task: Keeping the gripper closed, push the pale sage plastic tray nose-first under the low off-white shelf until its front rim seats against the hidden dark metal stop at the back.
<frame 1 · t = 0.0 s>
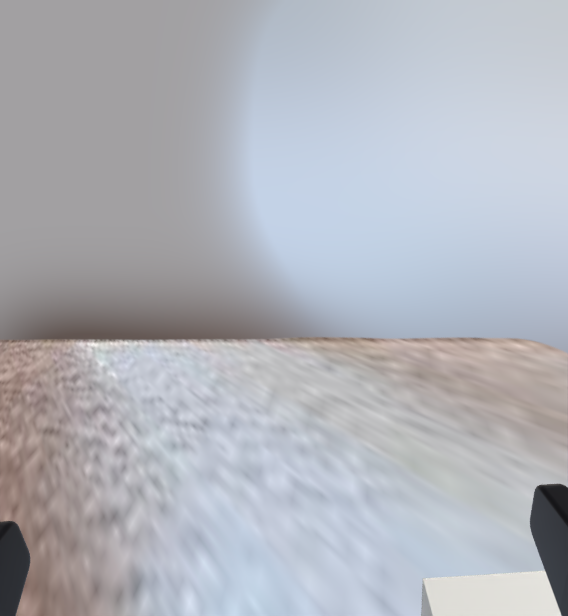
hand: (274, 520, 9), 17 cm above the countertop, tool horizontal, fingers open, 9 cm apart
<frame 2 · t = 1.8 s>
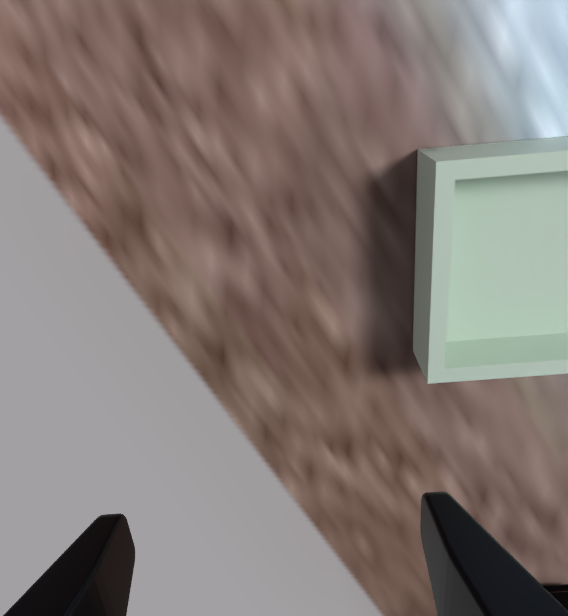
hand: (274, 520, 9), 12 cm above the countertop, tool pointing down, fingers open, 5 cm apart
tray: (563, 246, 20), on the countertop
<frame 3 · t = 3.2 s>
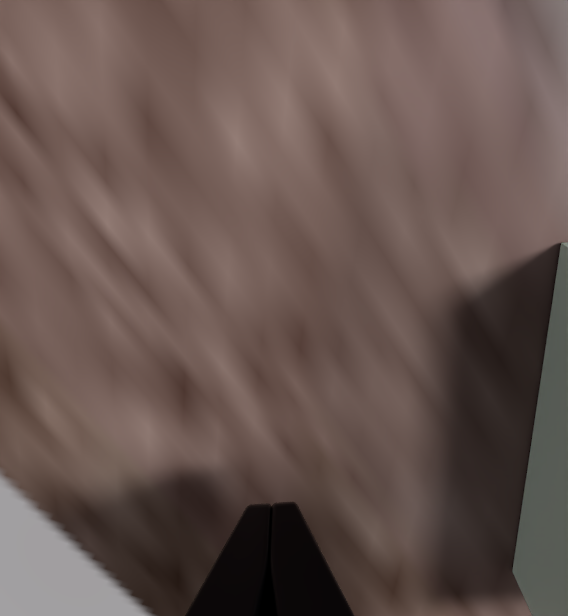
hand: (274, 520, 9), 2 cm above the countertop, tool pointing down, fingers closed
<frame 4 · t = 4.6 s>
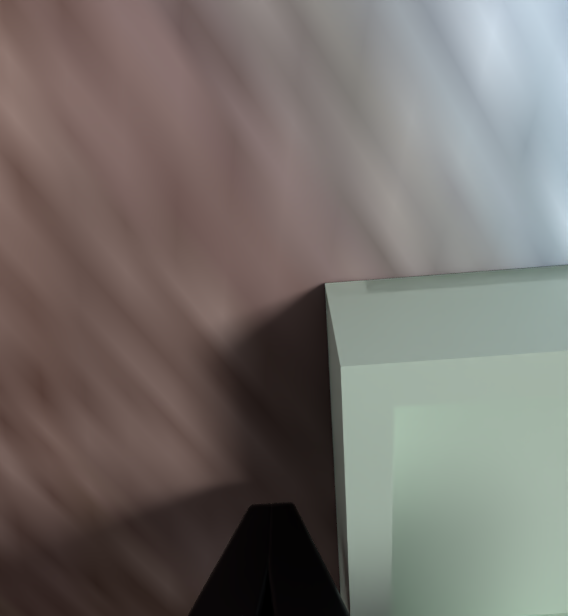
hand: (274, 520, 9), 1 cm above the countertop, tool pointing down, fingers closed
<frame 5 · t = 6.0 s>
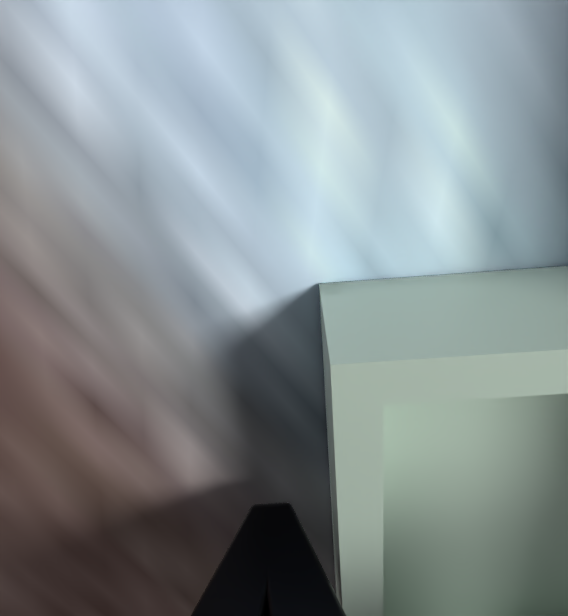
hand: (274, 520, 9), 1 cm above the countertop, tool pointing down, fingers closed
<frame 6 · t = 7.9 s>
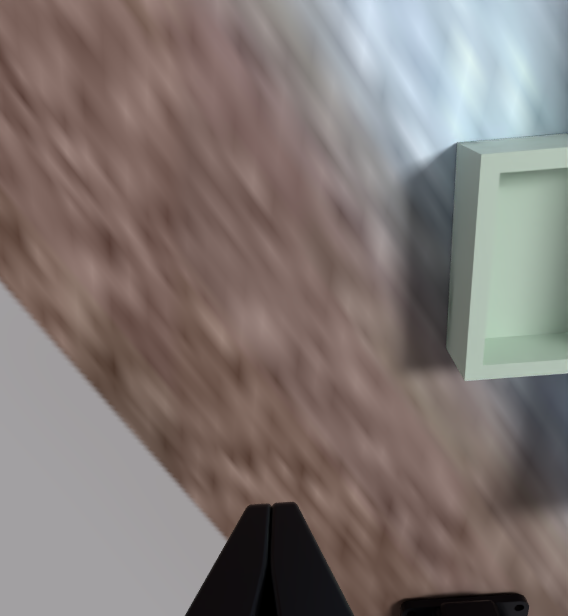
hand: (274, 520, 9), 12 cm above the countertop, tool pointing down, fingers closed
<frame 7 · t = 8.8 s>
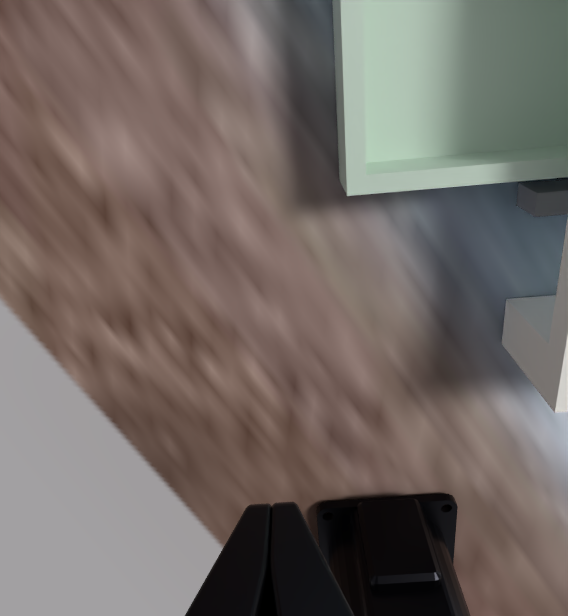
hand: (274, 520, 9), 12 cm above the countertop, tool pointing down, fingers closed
tray: (508, 37, 17), on the countertop
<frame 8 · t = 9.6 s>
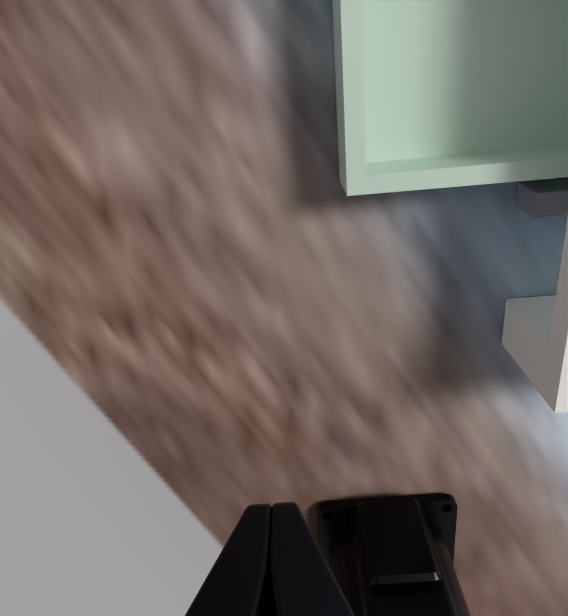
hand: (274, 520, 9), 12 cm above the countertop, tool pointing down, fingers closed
tray: (508, 37, 17), on the countertop
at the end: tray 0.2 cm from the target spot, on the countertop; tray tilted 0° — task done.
